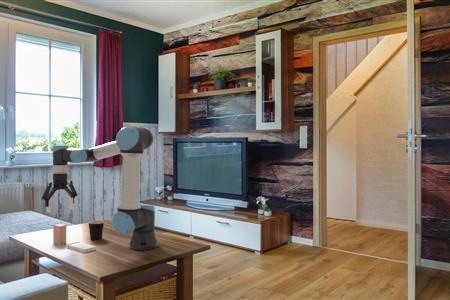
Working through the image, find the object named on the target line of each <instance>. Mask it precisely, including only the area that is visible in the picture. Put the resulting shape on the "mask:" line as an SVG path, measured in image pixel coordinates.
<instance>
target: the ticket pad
mask: <svg viewBox="0 0 450 300" xmlns="http://www.w3.org/2000/svg"><path fill="white" fill-rule="evenodd" d="M67 249H68V250H69V249H70V250H72V251H77V252H80V253H84V254H85V253H88V252H92V251H96V249H97V246H96V245H92V244H87V243H84V242H80V241H76V242H73V243H68V244H67Z"/></svg>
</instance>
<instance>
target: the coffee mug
mask: <svg viewBox="0 0 450 300" xmlns="http://www.w3.org/2000/svg"><path fill="white" fill-rule="evenodd" d="M104 225H105V221H103V220H93V221H89V222H88V229H89V239H90V240H91V241H100V240H102V239H103V233H104Z"/></svg>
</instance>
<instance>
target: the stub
mask: <svg viewBox="0 0 450 300" xmlns="http://www.w3.org/2000/svg"><path fill="white" fill-rule="evenodd" d="M52 226H53V229H52V230H53V233H52V234H53V237H52V238H53V240H52V241H53V242H52V243H54V244H56V245H59V246H60V245H65V244H66V243H67V224H64V223H56V224H53V225H52Z"/></svg>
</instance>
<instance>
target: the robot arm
mask: <svg viewBox="0 0 450 300" xmlns="http://www.w3.org/2000/svg"><path fill="white" fill-rule="evenodd" d="M153 143H154V135H153V132H152V131H151V130H149V129H148V128H145V127H136V126H126V127H122V128H121V129H120V130H119V131H118V132H117V134H116V136H115V141H111V142H107V143H104V144H102V145H98V146H94V147H91V148H68V147H69V146H68V145H65V144H62V145H60V144H57V145H56V144H55V145H53V147H52V182H49V181H48V182H47V183H46V188H45V190H44V192H43V194H42V195H41V200H43V201H44V207H45V208H46V213H48V214H51V210H52V209H51V206H52V205H51V199H52V198H53V196H54V195H55V192H57V191H60V190H64V191H65V192H66V193H67V195H68V196H69V197H68V204H69V205H68V209H69V210H74V204H75V198H77V196H78V193H77V189H76V188H75V187H74V183H73V180H68V178H69V177H68V174H69V173H68V172H69V171H68V170H69V169H68V166H69V165H68V163H74V164H75V163H76V164H82V163H91V162H92V163H95V162H99V161H100V160H101V159H105V158H110V157H113V156H116V155H121V156H122V170H121V189H120V190H121V192H120V203H119V204H118V205H117V211H116V213H114V214H113V216H112V219H111V221H112V222H111V223H112V227H113V229H114V230H115V231H116V232H117V233H118V234H120V235H129V234H131V238H130V241H129V243H128V246H129V247H128V248H129V249H130V250H134V251H148V250H153V249H156V248H157V247H158V240H157V237H156V236H157V235H156V233H155V223H156V220H155V218H156V217H155V214H156V211H155V206H154V205H152V204H143V203H142V204H141V203H139V190H140V189H139V188H140V173H141V171H140V169H141V168H140V167H141V165H140V164H141V157H142V156H143V155H144V151H145V150H147V149H149V148H150V147H152V145H153Z"/></svg>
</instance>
